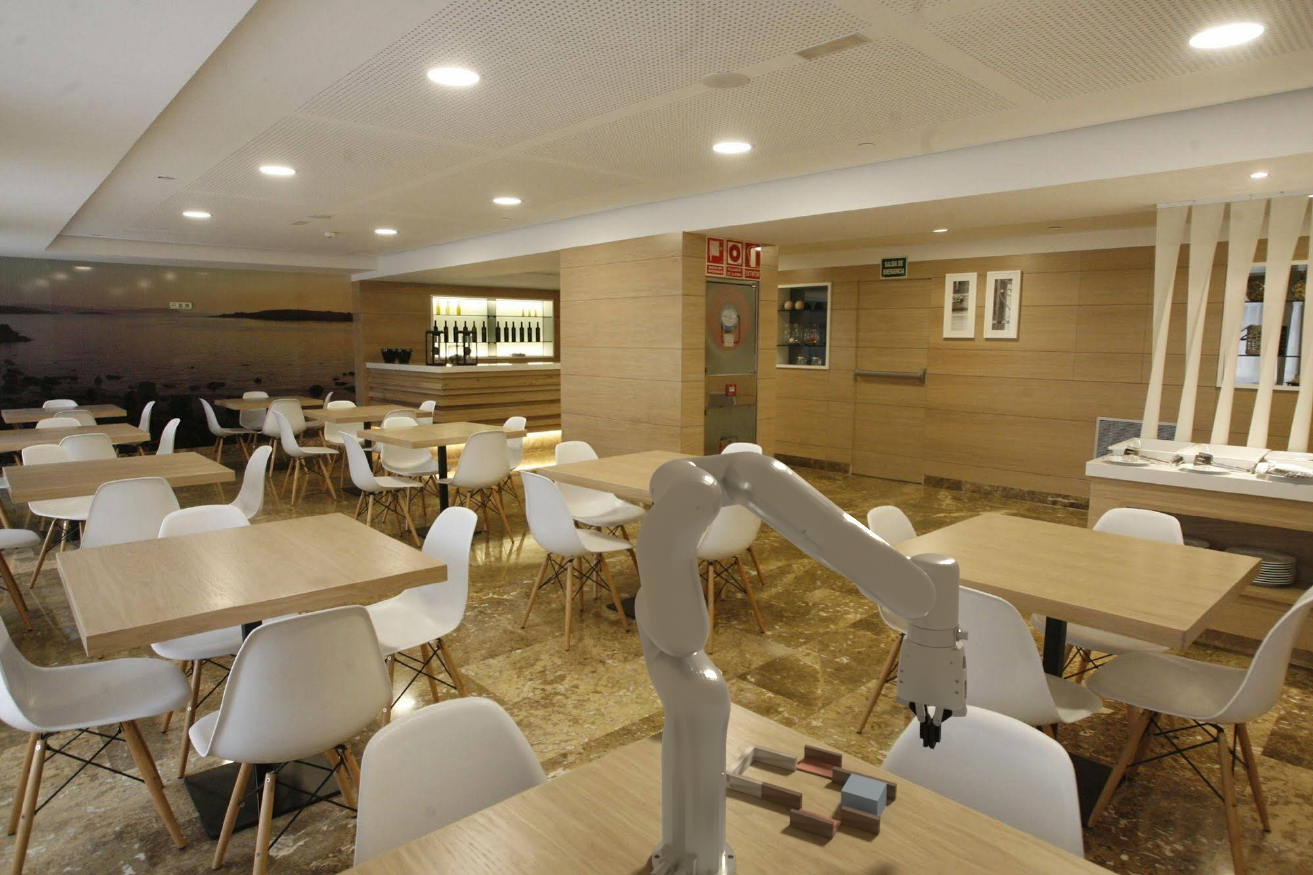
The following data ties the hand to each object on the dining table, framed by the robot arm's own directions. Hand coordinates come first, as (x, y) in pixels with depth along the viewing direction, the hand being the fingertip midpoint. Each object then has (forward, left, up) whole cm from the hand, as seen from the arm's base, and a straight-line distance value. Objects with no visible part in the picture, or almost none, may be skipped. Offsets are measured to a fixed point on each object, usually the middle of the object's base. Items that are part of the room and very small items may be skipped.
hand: (930, 744), depth 121 cm
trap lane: (0, +20, -14) cm, 24 cm away
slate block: (0, +10, -14) cm, 17 cm away
